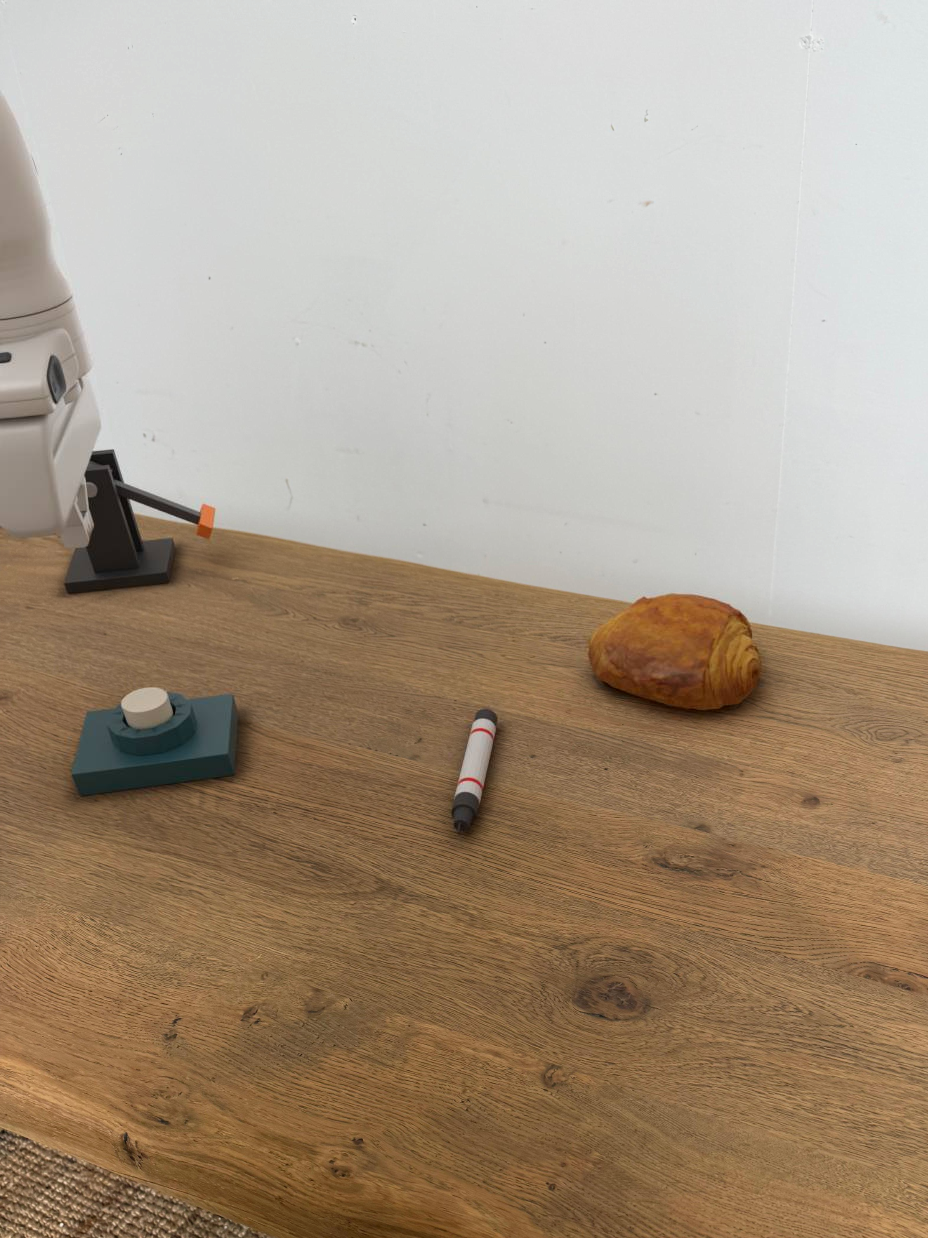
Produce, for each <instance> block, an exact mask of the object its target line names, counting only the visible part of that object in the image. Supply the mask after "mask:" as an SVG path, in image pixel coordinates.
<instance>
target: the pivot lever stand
mask: <svg viewBox="0 0 928 1238" xmlns="http://www.w3.org/2000/svg"><path fill="white" fill-rule="evenodd" d="M115 451H116V450H115V448H113V449H102V450H101V449H100V450H93V452H92V454H91V457H90V460H89V461H92V462H95V463H97V464H100V465H102V466H92V467H87V468H86V471H85V474H84V476H85V479H86V488H87V496H88V505H89V507H88V508H89V511H90V514H91V517H92V520H93V524H94V527H93V531H92V534H91V536H90V540H89V544H88V545H87V547H84V548H74V551H73V554H72V556H71V560H70V562H69V565H68V569H67V572H66V575H65V578H64V581H63V585H64V588H65V590H66V593H67V594H69V595H70V594H76V593H77V594H78V593H87V592H94V591H96V592H97V591H103V590H104V591H105V590H112V589H113V590H114V589H123V588H131V587H140V586H149V585H159V584H167V583H170V581H171V580H170V579H171V575H172V574H171V573H172V569H173V563H174V558H175V553H176V545H175V542H174V541H175V540H174V538H173V537H167V538H159V539H157V538H156V539H148V540H143V539H142V536H141V532H140V529H139V526H138V522H137V520H136V516H135V513H134V510H133V506H132V504H131V500H130V499H127V498H125V497H122V496H119V495H118V492H117V489H116V486H115V483H114V479H115V480H117V481H120V482H123V483H125V481H124V478H123V475H122V474H123V473H122V471H121V468H120V464H119V461H118V459H117V455H116V452H115ZM110 469H112V473H111V470H110Z"/></svg>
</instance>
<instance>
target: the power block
mask: <svg viewBox="0 0 928 1238" xmlns="http://www.w3.org/2000/svg"><path fill="white" fill-rule="evenodd" d="M166 693H167V694H168V698H169V701H170V704H171V707H172V710H173V716H172V718H171V719H170V720H169V721H168V722H165V723H163V724H161V725H158V726H156V727H153V728H146V729H135V728H132V727H130V726H129V725H128V723H127V721H126V718H125V715H124V712H123V709H122V707H121V702H120V703H119V704H117V706H115V707H114V708H105V709H99V710H90V711H89V710H88V711H86V713H85V717H84V721H83V725H82V729H81V734H80V736H79V737H80V738H79V741H78V745H77V748H76V749H77V750H76V754H75V758H74V761H73V766H72V770H71V774H70V776H71V778H72V780H73V782H74V785H75V787H76V790H77V793H78V795H79V797H82V796H83V797H84V796H89V795H91V796H92V795H97V794H98V795H99V794H104V793H105V794H106V793H112V792H113V793H114V792H120V791H127V790H135V789H143V788H148V787H156V786H163V785H164V786H166V785H172V784H178V783H186V782H194V781H202V780H210V779H216V778H217V779H218V778H225V777H231V776H235V769H236V757H237V756H236V755H237V742H238V727H239V717H240V716H239V715H240V714H239V711H238V707H237V704H236V699H235V697H234V694H233V693H225V694H217V695H210V696H202V697H194V698H186V697H185V696H184V695H183V694H181V693H175V692H169V691H166Z"/></svg>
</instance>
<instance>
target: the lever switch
mask: <svg viewBox="0 0 928 1238" xmlns="http://www.w3.org/2000/svg"><path fill="white" fill-rule="evenodd" d="M92 466H102V465H100V464H97V463H95V462H92V461H89V463H88V466H87V467H92ZM110 470H111V473H112V469H110ZM114 483H115V486H116V489H117V492H118V495H119V496H122V497H125V498H127V499H129V500H130V501H133V502H134V503H135V502H136V503H138V504H141V505H144V506H145V507H149V508H151V509H154V510H157V511H160V512H161V513H165V514H167V515H170V516H173V517H176V518H178V519H181V520H183V521H186V522H188V523H192V524H194V525H196V532H195V535H196V536H198V537H201V538H204V539H206V540H210V537H211V535H212V533H213V529H214V520H215V515H216V507H213V506H211V505H209V504H206V503H202V504H201V507H200V511H198V510H196V509H193V508H190V507H187V506H186V505H183V504H180V503H177V502H175V501H172V500H171V499H170V500H169V499H167V498H165V497H164V498H163V497H161V496H159V495H157V494H154V493H151V492H148V491H146V490H143V489H140V488H138V487H135V486H133V485H130V484H128V483H125V482H124V483H123V482H120V481H117V480H115V479H114Z"/></svg>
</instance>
